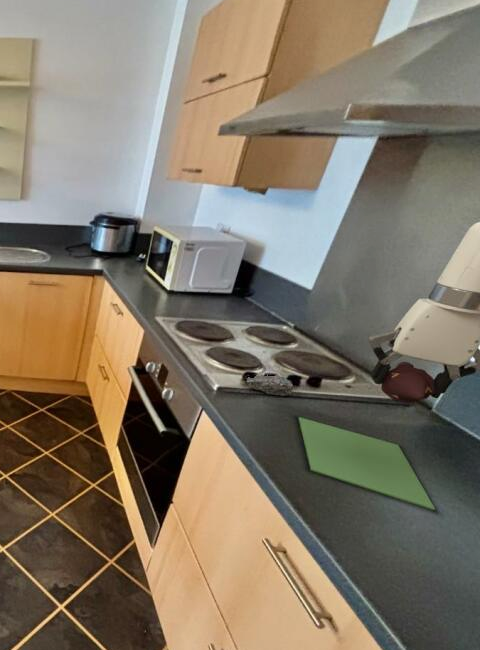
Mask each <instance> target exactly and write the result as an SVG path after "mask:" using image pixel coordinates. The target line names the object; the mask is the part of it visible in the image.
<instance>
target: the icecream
mask: <svg viewBox="0 0 480 650" xmlns="http://www.w3.org/2000/svg"><path fill="white" fill-rule="evenodd" d="M434 379H435V378H434V377H433V376H431V375H430V374H429V373H428V372H427V371H426V370H425V369H422V368H417V367H415V366H414V364H412V362H411V363H410V362H409V361H401V362H399V363H397V365H396V366H395V367H394V368H392V369H390V370H389V372H388V373H387V375H386V377H385V378H384V380H383V382H382V383H381V388H380V389H381V392H383V393H384V394H385V395H387V397H389V398H390V399H391V400H393V401H397V402H402V403H405V404H413V403H416V402H418V401H422V400H426V399H428V398H430V396H431V395H432V394H434V393H435V387H434V383H435V382H434Z"/></svg>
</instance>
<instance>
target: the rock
mask: <svg viewBox="0 0 480 650" xmlns="http://www.w3.org/2000/svg"><path fill="white" fill-rule="evenodd" d="M257 374H258V375H257V376H255V377H254V378H250V377H248V378H247V377H246V381H245V382H246V384H247V386H248V387H249V388H250V389H251V388H252V389H254V390H257V391H262V392H264V393H266V394H268V395H273V396H280V397H288V396H291V394H292V393H293V389H294V386H293V383H292V381H291V380H289V379H287V378H285V376H281V375H275V374H274V375H275V376H268V375H269V374H266V375H267V376H263V374H264V373H257Z"/></svg>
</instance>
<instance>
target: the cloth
mask: <svg viewBox="0 0 480 650" xmlns="http://www.w3.org/2000/svg"><path fill="white" fill-rule="evenodd" d="M298 422H299V426H300V431H301V435H302V439H303V443H304V447H305V451H306V457H307V460H308V464H309V468H310V471H311V472H314V473H316V474H321V475H323V476H326V477H330V478H332V479H335V480H339V481H342V482H345V483H348V484H351V485H354V486H357V487H360V488H363V489H366V490H369V491H373V492H375V493H378V494H381V495H385V496H388V497H390V498H394V499H397V500H399V501H403V502H407V503H409V504H412V505H415V506H419V507H422V508H424V509H427V510H430V511H435V510H436V508H435V506H434V504H433V503H432V501H431V500H430V497H429V496H428V494H427V492H426V490H425V488H424V486H423V485H422V484H421V482H420V480H419V478H418V477H417V475H416V473H415V471H414V470H413V468H412V466H411V464H410V462H409V461H408V459H407V457H406V456H405V454H404V452H403V450H402V449H401V447H400V446H399V444H396V443H392V442H390V441H386V440H383V439H378V438H375V437H371V436H368V435H364V434H362V433H357V432H354V431H351V430H346V429H343V428H339V427H336V426H332V425H328V424H326V423H321V422H318V421H314V420H311V419H307V418H304V417H300V416H299V417H298Z"/></svg>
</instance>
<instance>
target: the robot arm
mask: <svg viewBox="0 0 480 650" xmlns="http://www.w3.org/2000/svg"><path fill="white" fill-rule="evenodd" d="M385 342H386V343H387V346H389V347H390V348H388V349H386V350H385V351H384V349H383V348H382V344H383V343H385ZM368 343H369V345H370V347H371V349H372V351H373V353H374V355H375V356H376V358H377V359H378V361H377V363H376V365H375V366H374V368H373V369H372V371H371V373H370V377H371V379H372V381H373V382H374V384H375V385H382V382H383V380H384V378H385V377H386V375H387V373H388V372H389V371H390V370H392V369H391V368H392V366H391V363H393V362H394V361H397V360H398V359H400V358H402V357H406V358H412V359H416V360H421V361H424V362H425V361H426V362H430V363H435V364H440V365H442V366H443V371H442V372H438V373H437V375H436V376H435V377H434V378H433V379H434V382H435V383H434V387H435V393H434V394H432V395H430V396H431V397H432V398H433V399H438V398H439V397H440V396H441V395H443V394H445V393H446V392H447V390H448V389H449V388H450V386H451V385H452V383H453V381H458V380H460V378H463V377H467V376H470V375H473V374H475V373H476V372H479V371H480V348H479V347H480V221H478V222H476V223H474V224H472V225H471V226H470V227H469V228H468V230H467V231H466V233H465V234H464V236H463V238H462V239H461V242H460V243H459V244H458V245H457V248H456V250H455V251H454V253H453V254H452V256H451V258H450V260H449V261H448V262H447V264H446V266H445V268H444V269H443V270H442V273H441V274H440V275H439V278H438V279H437V281H436V283H435V285H434V286H433V288H432V289H431V291H430V293H428V296H427V297H426V298H419V299H418V300H417V301H416V302H415V303H413V305H412V306H411V307H410V308H409V309H408V311H407V312H406V313H405V315H404V316H403V317H402V318H401V320H400V321H399V322H398V324H397V325H396V327H394V330H391V331H387V332H383V333H380V334H375V335H371V336H369V337H368ZM471 359H474V361H473V362H471V363H469V362H470V361H471ZM468 363H469V364H468Z"/></svg>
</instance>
